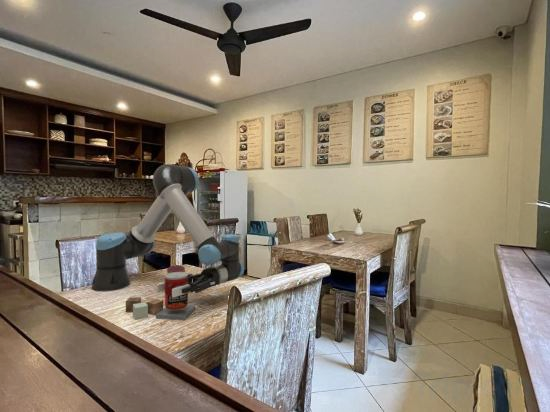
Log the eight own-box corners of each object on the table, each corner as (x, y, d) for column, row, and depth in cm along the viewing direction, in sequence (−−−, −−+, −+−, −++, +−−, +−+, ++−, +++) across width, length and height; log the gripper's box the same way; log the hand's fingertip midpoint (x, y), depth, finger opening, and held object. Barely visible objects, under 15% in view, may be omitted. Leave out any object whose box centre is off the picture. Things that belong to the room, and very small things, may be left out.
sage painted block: (135, 319, 99) (135, 308, 99) (133, 315, 102) (132, 304, 102) (147, 317, 101) (147, 305, 101) (145, 313, 104) (145, 302, 104)
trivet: (155, 318, 100) (155, 314, 100) (169, 307, 110) (169, 304, 110) (184, 319, 99) (184, 316, 99) (195, 308, 109) (195, 305, 109)
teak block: (146, 313, 104) (146, 302, 104) (155, 309, 108) (155, 298, 108) (154, 315, 103) (154, 304, 102) (163, 311, 106) (163, 300, 106)
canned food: (166, 311, 99) (166, 278, 99) (163, 303, 106) (163, 273, 106) (189, 307, 103) (190, 276, 102) (185, 300, 110) (185, 270, 109)
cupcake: (181, 282, 142) (181, 257, 141) (163, 281, 142) (163, 256, 141) (187, 277, 150) (187, 253, 150) (170, 277, 150) (170, 253, 150)
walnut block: (125, 312, 105) (125, 301, 105) (129, 308, 109) (129, 297, 109) (137, 312, 105) (137, 300, 105) (140, 307, 109) (140, 297, 109)
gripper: (233, 290, 114) (184, 308, 95) (195, 281, 125) (146, 295, 106) (233, 270, 113) (185, 285, 94) (196, 263, 125) (146, 275, 106)
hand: (164, 290), depth 100 cm, fingers closed on canned food, 8 cm apart
